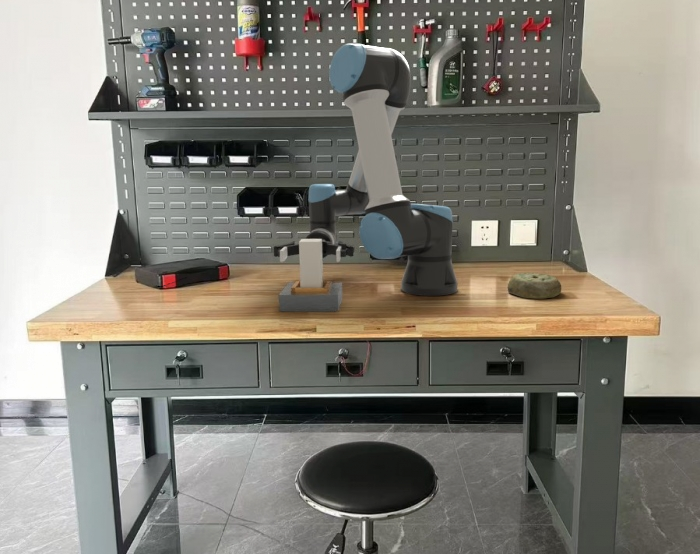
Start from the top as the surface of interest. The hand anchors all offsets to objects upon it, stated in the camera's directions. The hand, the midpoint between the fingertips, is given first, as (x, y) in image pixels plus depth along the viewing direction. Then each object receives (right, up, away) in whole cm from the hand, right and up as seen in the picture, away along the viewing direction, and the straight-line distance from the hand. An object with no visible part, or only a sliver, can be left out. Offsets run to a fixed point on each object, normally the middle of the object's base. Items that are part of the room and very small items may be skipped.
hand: (309, 256), depth 143 cm
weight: (+58, -10, +14) cm, 60 cm away
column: (0, -8, +5) cm, 9 cm away
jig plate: (0, -12, +5) cm, 13 cm away
